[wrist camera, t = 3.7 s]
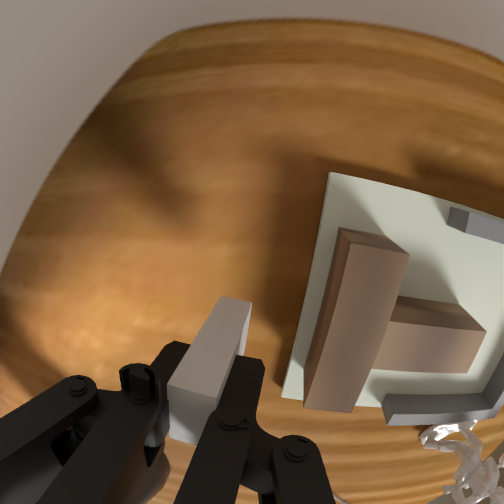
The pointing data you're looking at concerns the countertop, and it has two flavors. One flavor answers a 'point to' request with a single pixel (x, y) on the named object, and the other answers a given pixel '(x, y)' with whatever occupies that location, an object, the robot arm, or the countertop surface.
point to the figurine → (466, 463)
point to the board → (418, 295)
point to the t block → (379, 325)
